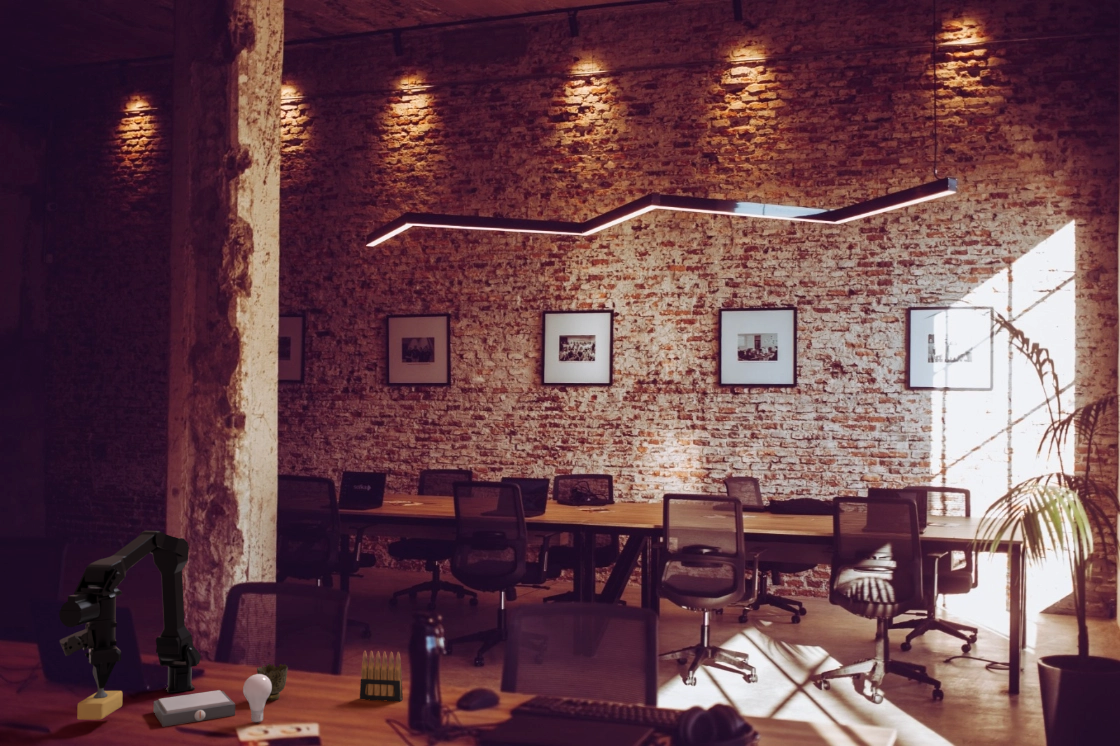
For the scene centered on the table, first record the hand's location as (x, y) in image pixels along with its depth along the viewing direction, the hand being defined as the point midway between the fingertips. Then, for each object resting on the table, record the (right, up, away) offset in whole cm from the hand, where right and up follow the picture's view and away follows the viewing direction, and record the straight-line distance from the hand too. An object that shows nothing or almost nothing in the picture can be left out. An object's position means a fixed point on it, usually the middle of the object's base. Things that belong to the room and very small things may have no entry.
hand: (100, 686), depth 219 cm
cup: (+34, -10, +19) cm, 40 cm away
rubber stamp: (0, -6, 0) cm, 6 cm away
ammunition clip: (+61, -10, +19) cm, 65 cm away
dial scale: (+19, -9, +8) cm, 22 cm away
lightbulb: (+36, -9, +1) cm, 37 cm away
